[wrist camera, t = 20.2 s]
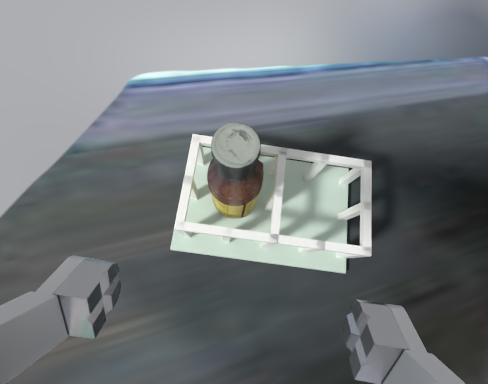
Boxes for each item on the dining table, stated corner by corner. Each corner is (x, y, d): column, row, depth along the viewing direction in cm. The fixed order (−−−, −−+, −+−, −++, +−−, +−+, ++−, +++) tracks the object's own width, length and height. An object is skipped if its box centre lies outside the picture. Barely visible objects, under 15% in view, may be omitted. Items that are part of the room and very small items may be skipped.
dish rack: (345, 170, 45) (375, 147, 36) (342, 273, 40) (375, 274, 32) (191, 147, 44) (183, 118, 35) (171, 250, 40) (156, 244, 31)
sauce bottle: (247, 175, 42) (267, 98, 23) (260, 213, 41) (293, 165, 22) (205, 187, 41) (191, 117, 22) (218, 227, 40) (213, 189, 21)
